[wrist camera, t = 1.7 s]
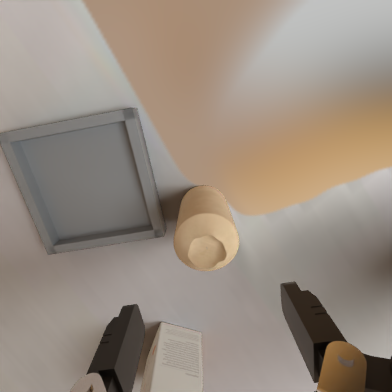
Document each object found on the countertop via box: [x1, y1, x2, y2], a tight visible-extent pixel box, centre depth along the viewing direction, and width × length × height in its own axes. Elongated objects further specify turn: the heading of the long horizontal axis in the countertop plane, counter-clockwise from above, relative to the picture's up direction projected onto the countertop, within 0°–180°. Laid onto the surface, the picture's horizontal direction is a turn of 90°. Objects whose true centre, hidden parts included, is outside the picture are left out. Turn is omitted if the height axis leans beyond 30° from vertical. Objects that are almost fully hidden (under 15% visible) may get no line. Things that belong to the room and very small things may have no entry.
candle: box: [174, 185, 239, 271], centre depth 23 cm, size 6×6×10 cm
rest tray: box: [0, 108, 166, 255], centre depth 26 cm, size 14×14×2 cm
